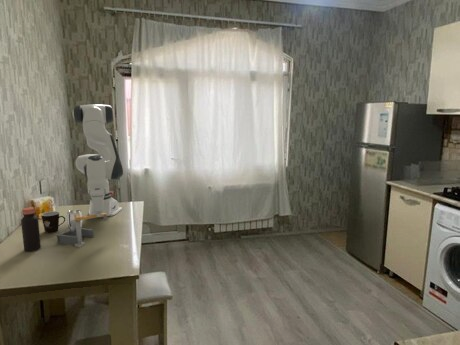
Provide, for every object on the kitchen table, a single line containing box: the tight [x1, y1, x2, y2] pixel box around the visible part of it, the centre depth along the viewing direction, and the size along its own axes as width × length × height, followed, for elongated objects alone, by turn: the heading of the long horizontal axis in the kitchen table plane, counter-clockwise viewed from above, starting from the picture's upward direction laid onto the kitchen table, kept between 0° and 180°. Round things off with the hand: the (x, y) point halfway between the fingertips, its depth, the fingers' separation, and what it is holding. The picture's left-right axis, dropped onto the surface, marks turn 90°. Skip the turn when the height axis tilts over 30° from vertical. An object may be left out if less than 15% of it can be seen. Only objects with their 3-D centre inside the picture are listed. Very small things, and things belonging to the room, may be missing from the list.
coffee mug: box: [40, 210, 66, 234], centre depth 173 cm, size 12×9×10 cm
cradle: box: [56, 221, 95, 248], centre depth 160 cm, size 13×14×12 cm
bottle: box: [20, 206, 42, 253], centre depth 149 cm, size 7×7×20 cm
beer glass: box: [66, 209, 84, 240], centre depth 161 cm, size 7×7×15 cm
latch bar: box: [75, 213, 109, 222], centre depth 157 cm, size 15×3×4 cm, turn 125°
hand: (99, 216), depth 157 cm, fingers closed
